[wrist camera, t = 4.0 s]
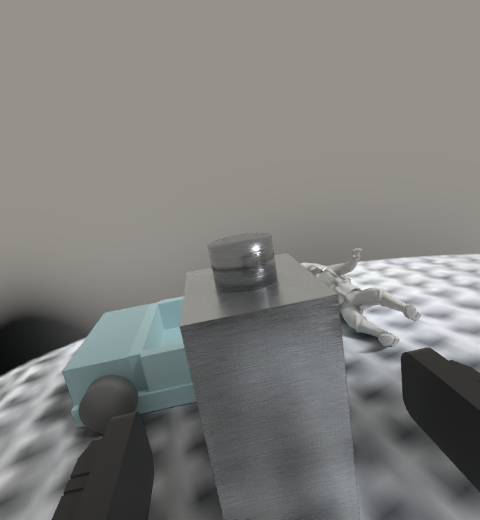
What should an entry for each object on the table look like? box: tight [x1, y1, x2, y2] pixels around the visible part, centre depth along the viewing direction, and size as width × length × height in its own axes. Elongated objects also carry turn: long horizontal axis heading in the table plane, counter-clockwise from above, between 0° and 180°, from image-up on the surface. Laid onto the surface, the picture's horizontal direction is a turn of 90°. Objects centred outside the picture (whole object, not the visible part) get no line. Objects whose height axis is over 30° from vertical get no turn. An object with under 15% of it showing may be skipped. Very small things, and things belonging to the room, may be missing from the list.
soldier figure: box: [301, 248, 421, 347], centre depth 28 cm, size 8×5×12 cm
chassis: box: [62, 296, 197, 434], centre depth 25 cm, size 16×12×4 cm
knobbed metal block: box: [180, 233, 360, 520], centre depth 14 cm, size 5×6×11 cm
